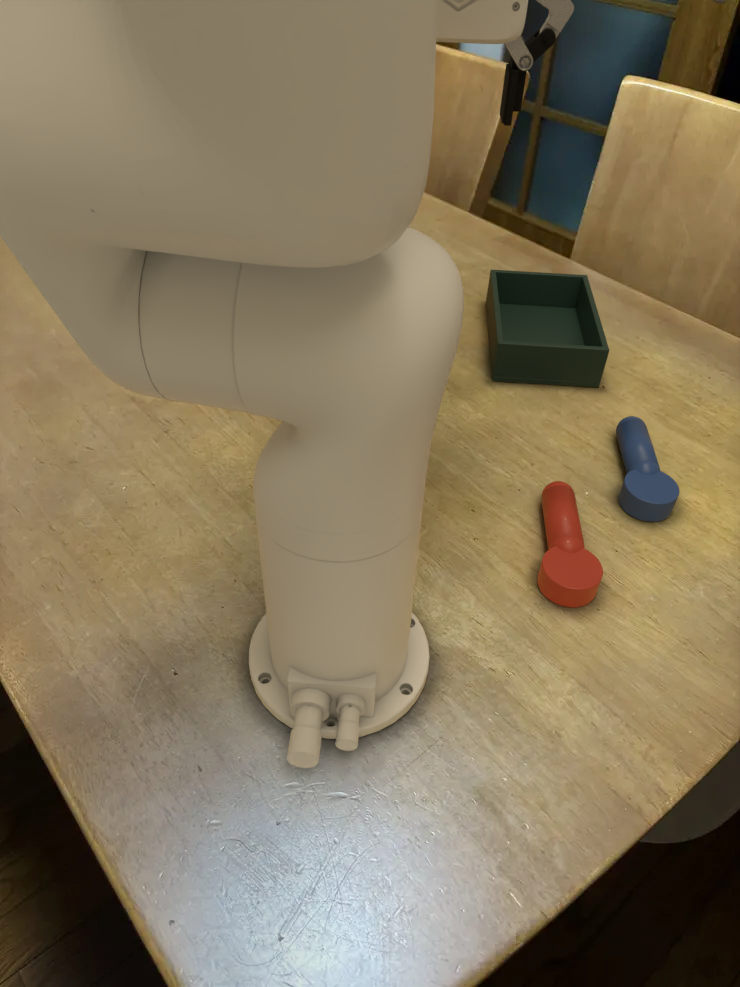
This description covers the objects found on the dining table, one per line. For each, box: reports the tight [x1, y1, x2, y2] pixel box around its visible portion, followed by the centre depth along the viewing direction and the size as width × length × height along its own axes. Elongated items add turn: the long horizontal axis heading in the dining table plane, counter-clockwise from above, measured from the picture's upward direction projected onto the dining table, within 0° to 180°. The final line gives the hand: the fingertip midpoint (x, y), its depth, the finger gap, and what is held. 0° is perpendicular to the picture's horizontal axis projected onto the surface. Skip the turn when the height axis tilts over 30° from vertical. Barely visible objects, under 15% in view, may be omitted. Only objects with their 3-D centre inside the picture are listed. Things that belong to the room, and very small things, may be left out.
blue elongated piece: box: [615, 415, 680, 523], centre depth 68 cm, size 12×5×3 cm, turn 176°
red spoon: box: [536, 480, 604, 608], centre depth 61 cm, size 12×5×3 cm, turn 176°
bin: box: [485, 269, 610, 389], centre depth 83 cm, size 16×11×5 cm
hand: (446, 117), depth 61 cm, fingers open, 9 cm apart
